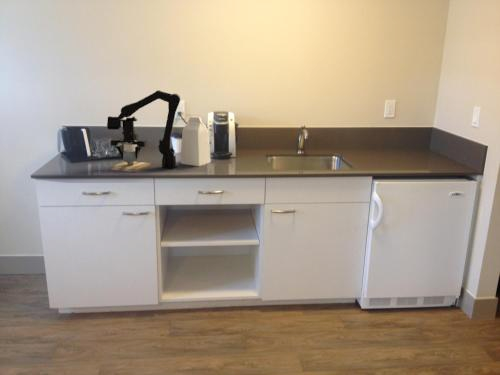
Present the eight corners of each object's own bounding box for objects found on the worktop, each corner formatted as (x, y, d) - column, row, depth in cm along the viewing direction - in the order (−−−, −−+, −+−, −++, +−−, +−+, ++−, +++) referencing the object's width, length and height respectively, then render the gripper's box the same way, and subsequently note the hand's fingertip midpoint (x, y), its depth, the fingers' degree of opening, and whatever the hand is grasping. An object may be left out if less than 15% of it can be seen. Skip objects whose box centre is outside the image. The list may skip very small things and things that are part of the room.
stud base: (150, 165, 249) (150, 159, 248) (136, 172, 235) (136, 165, 234) (125, 163, 253) (125, 156, 252) (109, 169, 239) (109, 162, 238)
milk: (181, 163, 255) (180, 117, 247) (193, 159, 265) (192, 114, 257) (199, 166, 250) (198, 118, 242) (210, 162, 259) (210, 116, 252)
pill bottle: (141, 156, 270) (140, 131, 266) (132, 159, 263) (131, 133, 259) (130, 155, 273) (129, 130, 269) (121, 158, 266) (120, 132, 262)
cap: (126, 158, 247) (126, 149, 245) (139, 159, 246) (138, 149, 244) (121, 161, 240) (120, 151, 239) (133, 162, 239) (133, 152, 238)
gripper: (150, 127, 245) (151, 156, 249) (117, 126, 247) (119, 154, 251) (143, 131, 234) (145, 160, 239) (108, 129, 236) (111, 159, 241)
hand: (130, 158), depth 243 cm, fingers closed on cap, 7 cm apart
